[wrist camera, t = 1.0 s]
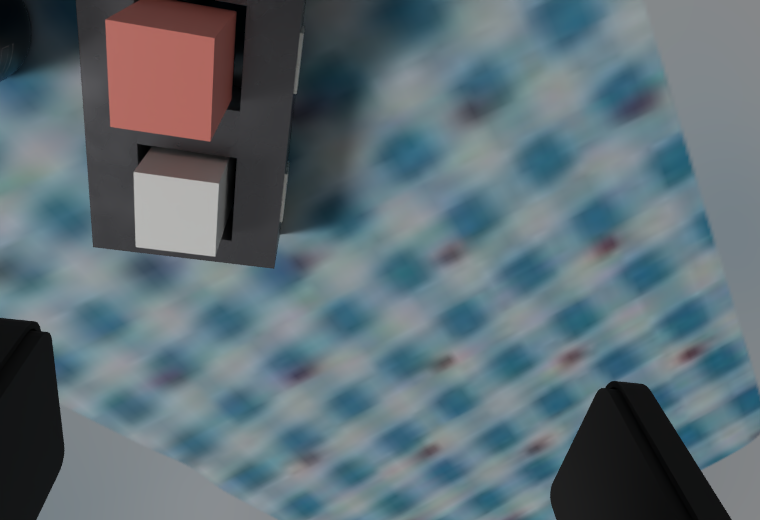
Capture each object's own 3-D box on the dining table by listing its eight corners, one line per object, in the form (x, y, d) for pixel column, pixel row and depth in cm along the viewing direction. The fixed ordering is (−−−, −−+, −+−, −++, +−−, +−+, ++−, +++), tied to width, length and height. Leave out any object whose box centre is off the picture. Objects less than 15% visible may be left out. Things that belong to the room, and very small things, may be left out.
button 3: (164, 129, 34) (133, 171, 29) (236, 140, 35) (218, 183, 30) (164, 196, 36) (135, 247, 31) (232, 205, 37) (215, 256, 32)
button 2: (147, -5, 28) (104, 19, 23) (236, 11, 28) (214, 37, 23) (149, 86, 30) (110, 126, 25) (231, 99, 30) (210, 141, 25)
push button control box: (86, -401, 24) (44, -449, 20) (345, -332, 25) (347, -367, 22) (115, 214, 37) (93, 246, 34) (282, 235, 39) (276, 268, 35)
